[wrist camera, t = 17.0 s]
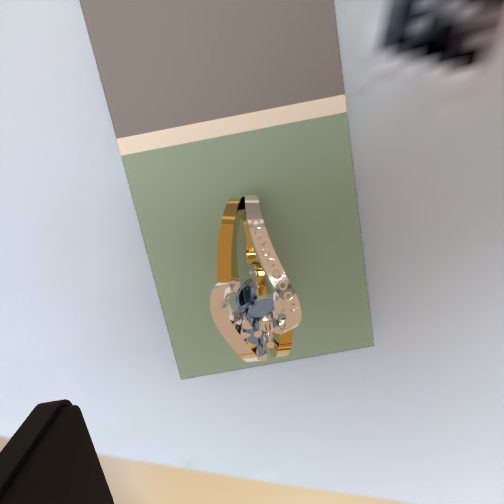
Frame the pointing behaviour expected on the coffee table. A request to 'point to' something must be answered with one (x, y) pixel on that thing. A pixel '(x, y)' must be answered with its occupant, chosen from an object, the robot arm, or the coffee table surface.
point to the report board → (236, 159)
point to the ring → (252, 288)
